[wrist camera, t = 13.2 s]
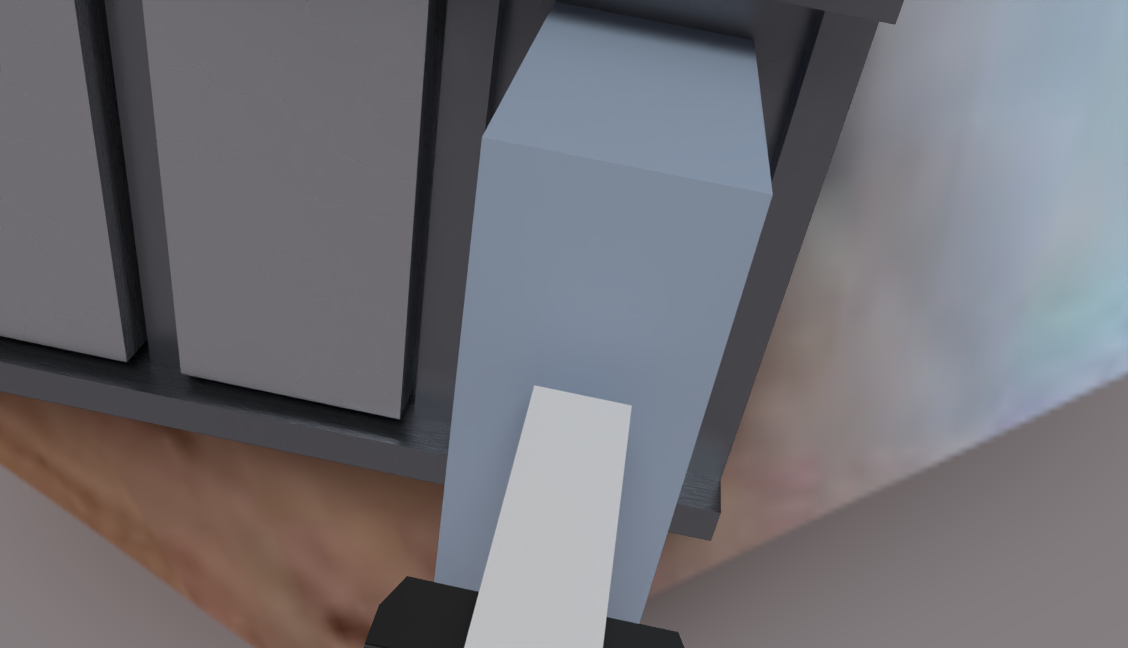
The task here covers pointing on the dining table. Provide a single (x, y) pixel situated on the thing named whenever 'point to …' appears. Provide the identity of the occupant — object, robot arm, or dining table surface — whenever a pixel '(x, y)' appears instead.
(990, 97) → the dining table surface
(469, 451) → the pale blue rectangular prism
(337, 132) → the rack
